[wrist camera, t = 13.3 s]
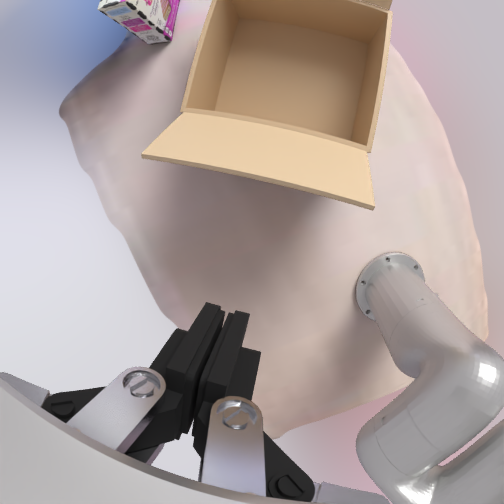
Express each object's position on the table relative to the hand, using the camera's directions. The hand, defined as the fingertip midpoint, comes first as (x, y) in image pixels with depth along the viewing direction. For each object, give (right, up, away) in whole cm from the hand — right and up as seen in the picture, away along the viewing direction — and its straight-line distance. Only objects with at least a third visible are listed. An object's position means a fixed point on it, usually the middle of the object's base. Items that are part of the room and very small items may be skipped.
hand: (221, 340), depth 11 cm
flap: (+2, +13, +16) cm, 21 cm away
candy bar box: (-14, +44, +26) cm, 53 cm away
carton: (+7, +30, +27) cm, 41 cm away
